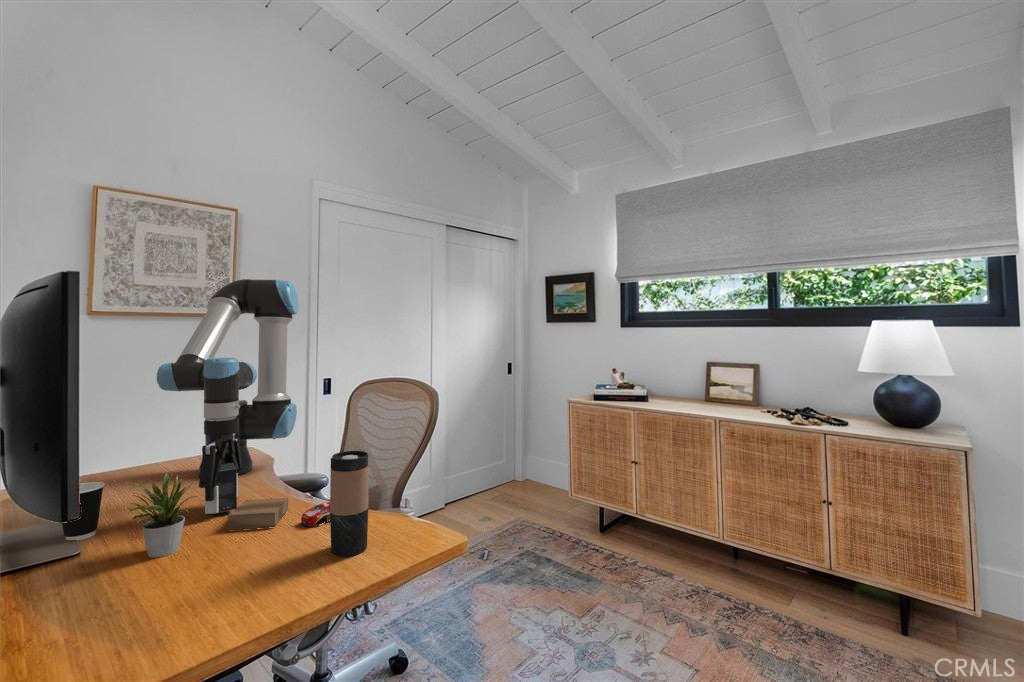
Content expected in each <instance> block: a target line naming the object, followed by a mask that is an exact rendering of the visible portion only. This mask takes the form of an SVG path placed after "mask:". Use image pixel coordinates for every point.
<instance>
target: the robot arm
mask: <svg viewBox="0 0 1024 682" xmlns="http://www.w3.org/2000/svg"><path fill="white" fill-rule="evenodd" d="M297 293H298V292H297V290H296V287H295V285H294V284H293V283H292V282H291V281H289V280H280V279H249V278H247V279H245V278H244V279H238V280H234V281H232V282H230V283H228V284H226V285H224V286H222V287H221V288H220V289H218V290H217V291H216V292H214V294H212V296H211V297H210V299H209V301H208V302H207V304H206V309H207V311H206V312H205V314H204V315H203V318H202V319H201V320H200V322H199V324H198V325H197V327H196V329H195V331H194V332H193V334H192V335H191V337H190V338H189V340H188V342H187V343H186V345H185V346H184V348H183V350H182V351H181V353H180V355H179V357H178V358H177V360H176V361H175V362H167V363H164V364H161V365H160V366H159V367H158V369H157V373H156V383H157V385H158V387H159V389H161V390H162V391H166V392H168V391H171V392H189V391H190V392H191V391H194V392H195V391H203V418H204V421H203V434H204V435H205V440H204V441H205V442H204V443H205V445H203V446H202V447H201V450H202V451H201V452H202V457H201V462H200V465H199V467H198V476H199V481H198V487H199V489H204V514H205V515H206V514H211V513H214V514H219V513H218V512H219V508H218V486H216V484H217V479H218V475H219V471H220V466H221V463H229V462H232V463H233V464H234V465H235V467H236V468H237V498H238V496H239V484H238V483H239V482H238V481H239V475H238V474H240V475H242V473H243V474H247V473H248V472H250V471H252V470H253V468H254V467H253V465H254V463H253V460H252V456H251V454H250V452H249V451H250V450H249V449H248V444H247V443H248V441H247V440H269V439H273V440H277V439H283V438H284V439H285V438H287V437H289V436H290V435H291V433H292V432H293V430H294V428H295V425H296V424H295V423H296V421H297V420H296V419H297V414H298V413H297V411H298V410H297V405H296V403H294V402H292V397H291V396H289V394H287V365H288V363H287V362H288V350H287V349H288V325H289V323H291V322H292V321H293V315H297V314H298V312H299V299H298V294H297ZM245 314H250V315H251V314H252V315H253V319H254V320H255V321H256V322H257V324H258V325H259V326H258V355H257V356H258V358H257V359H258V361H257V363H258V365H257V366H258V367H257V368H258V369H256V368H255V367H254V366H253V365H252V364H251V363H249V362H245V361H239V360H238V359H237V358H236V357H216V354H217V352H218V350H219V349H220V346H221V344H222V343H223V342H224V341H223V340H224V339H225V337H226V335H227V333H228V331H229V330H230V328H231V326H232V324H233V323H234V321H237V320H238V319H239V318H240V316H241V315H245ZM256 380H257V394H256V395H255V397H254V398H252V399H251V401H252V404H248V401H247V400H246V399H240V396H239V395H240V393H239V392H240V390H245V389H247V388H249V387H250V386H252V385H253V384H254V383H255V382H256Z"/></svg>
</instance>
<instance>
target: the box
mask: <svg viewBox="0 0 1024 682" xmlns="http://www.w3.org/2000/svg"><path fill="white" fill-rule="evenodd" d="M216 486H218V508H219V512H218V513H217V514H219V513H225V512H229V511H234V510H235V509H236V508H237V507H238V497H237V468H236V467H235V465H234V464H233V463H232V462H229V463H221V466H220V471H219V475H218V479H217V484H216ZM210 514H211V515H213V514H215V513H210Z"/></svg>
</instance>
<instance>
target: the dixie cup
mask: <svg viewBox="0 0 1024 682" xmlns="http://www.w3.org/2000/svg"><path fill="white" fill-rule="evenodd" d="M79 484H80V492H79V493H80V503H81V506H82V515H81V518H80V519H79V520H76V521H72V522H67V523H62V522H61V526H62V533H63V536H64V538H65V537H74V538H75V539H76V540H77V541H82V540H85V539H89V538H91V537H93V536H94V535H96V532H97V530H98V525H99V518H100V511H101V503H102V497H103V489H104V487H105V485H106V483H104V482H101V481H90V482H81V483H79Z"/></svg>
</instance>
